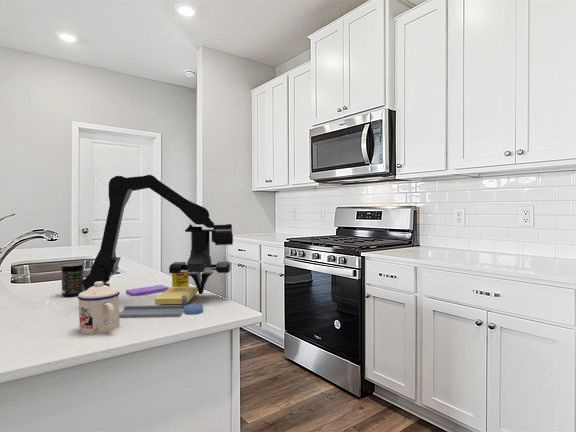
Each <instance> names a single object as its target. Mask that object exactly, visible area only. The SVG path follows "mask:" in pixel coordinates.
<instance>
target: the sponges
mask: <svg viewBox="0 0 576 432" xmlns="http://www.w3.org/2000/svg"><path fill="white" fill-rule="evenodd" d="M169 288H170V287H169V286H166V285H162V284H157V285H151V286H144V287H137V288H130V289H126V290H125V293H126V295H129V296H130V297H141V296H146V295H153V294H158V293H164V292H165V291H166V290H168V289H169Z"/></svg>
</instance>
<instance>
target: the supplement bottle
mask: <svg viewBox="0 0 576 432" xmlns="http://www.w3.org/2000/svg"><path fill="white" fill-rule="evenodd" d="M189 278H190V276H188V270H182V271H181V272H180V273H171V283H172V284H171V285H172V286H171V287H190V284H189V283H190V282H189V280H190V279H189Z"/></svg>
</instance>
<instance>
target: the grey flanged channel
mask: <svg viewBox="0 0 576 432" xmlns="http://www.w3.org/2000/svg"><path fill="white" fill-rule="evenodd" d="M186 305H187V304H186ZM186 305H182V304H154V305H153V304H152V305H125V306H124V307H123V309H122V310H121V311H119V319H128V318H129V319H134V318H135V319H138V318H139V319H141V318H145V319H146V318H147V319H148V318H180V317H182V315H183V314H185V313H184V306H186Z"/></svg>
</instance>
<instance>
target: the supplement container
mask: <svg viewBox="0 0 576 432" xmlns="http://www.w3.org/2000/svg"><path fill="white" fill-rule="evenodd" d="M84 266H85V265H84V263H83V262H81V263H80V262H78V263H77V262H76V263H66V264H61V265H60V272H61V274H60V275H61V295H62V296H63V297H65V298H74V297H78V295H79V294H80V293H81V292H83V291H84V286H83V284H82V281H83V280H84V279H85V273H84V271H85V270H84V269H85V268H84Z"/></svg>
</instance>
